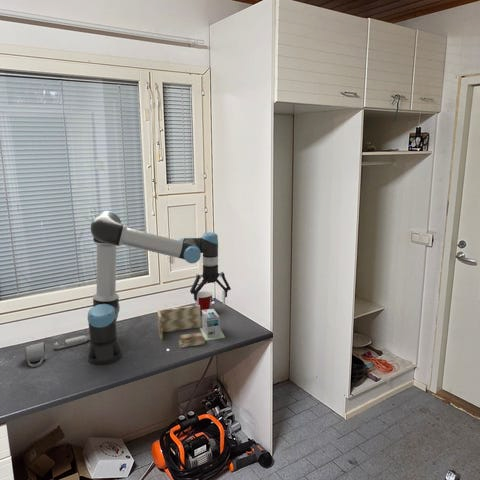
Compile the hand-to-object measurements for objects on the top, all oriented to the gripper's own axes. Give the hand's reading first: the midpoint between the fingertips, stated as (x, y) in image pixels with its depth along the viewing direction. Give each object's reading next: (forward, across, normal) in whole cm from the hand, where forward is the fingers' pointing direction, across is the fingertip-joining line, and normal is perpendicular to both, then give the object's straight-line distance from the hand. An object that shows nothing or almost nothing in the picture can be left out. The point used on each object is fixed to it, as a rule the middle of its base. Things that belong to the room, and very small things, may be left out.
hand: (210, 304), depth 210 cm
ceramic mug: (+17, -81, -3) cm, 83 cm away
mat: (+16, +1, 0) cm, 16 cm away
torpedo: (+17, -66, +9) cm, 69 cm away
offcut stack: (+16, -11, -8) cm, 21 cm away
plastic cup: (+16, +2, +26) cm, 30 cm away
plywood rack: (+16, -14, +5) cm, 22 cm away
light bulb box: (+15, 0, 0) cm, 15 cm away
